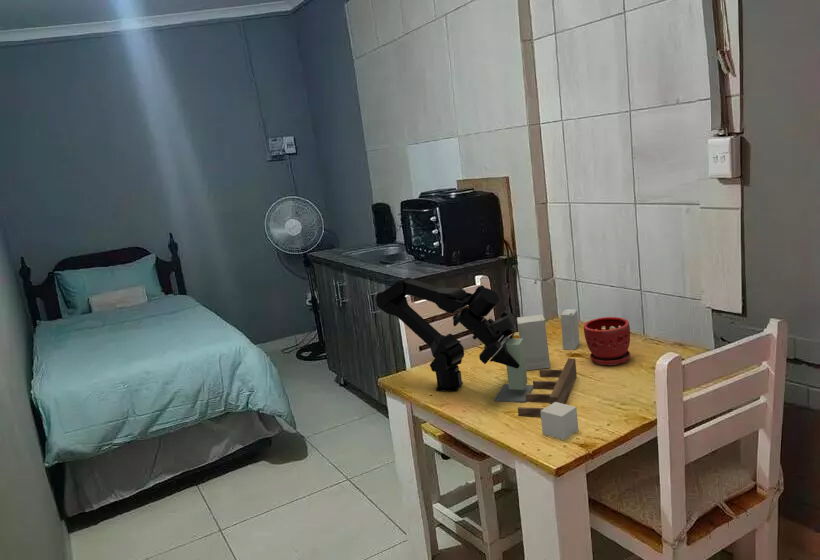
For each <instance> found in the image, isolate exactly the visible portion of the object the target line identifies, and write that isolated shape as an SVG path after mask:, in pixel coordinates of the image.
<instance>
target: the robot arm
mask: <svg viewBox="0 0 820 560" xmlns="http://www.w3.org/2000/svg"><path fill="white" fill-rule="evenodd" d="M407 295H409V296H412V297H414V298H415V297H416V298H418V299H421V300H425V301H427V302H430V303H434V304H435V305H436V306H437V308H439V309H440V310H443V311H444V312H445V313H448V314H454V313H455V314H454V315H453V316H452V319H453V320H452V322H453V323H452V324H453V327H456V326H457V325H458V324H461V326H463V327H464V328H465V329H466V330H467V331H469V332H470V333H471V334H472V335H473V336H472V339H473V340H479V341H480V342H481V343H482V344H483V345H484V346H483V350H482V351H481V352H480V354H479V357H478V358H479V360H480V361H481V362H482V363H483V365H486V364H487V363H488V362H491V363H492V362H493V363H497V364H502V365H505V366H506V365H507V366H510V367H514V368H519V366H520V365H519V364H518V363H517V361H516V360H515V359H514V358H513V357H512V356H511V355H510V354H509V353H508V351H507V348H506V342H507V340H508V339H515V337H514V336H515V333H514V331H515V329H516V327H515V325H517V320H515V314H513V313H512V312H509V311H508V310H504V311H502V312H501V313H500V317H499V318H498V319H496V320H494V319H493V318H488V319H487V318H486V317H487V316H488V315H489V314H490V312H491V311H492V310H493V309H494V308H495V307H496V306H497V304H498V303H499V302H500V296H499V295H498V294H497V292H496V291H494V290H492V289H491V288H488V287H485V286H484V285H479V286H477V287H476V289H475V290H474V292H473V293H472V292H471V293H470V292H467V291H466V290H465V289H464V288H460V287H440V286H436V285H433V284H430V283H426V282H423V281H419V280H416V279H413V278H411V277H407V276H406V277H403V278H400V279H399V280H397V281H396V282H395V283H394V284H392V285H391V286H390V287H388V288H386V289H384V290H382V291H380V292H378V293H377V294H376V297H375V302H376V303H375V304H376V306H377V307H378V309H379V310H381V311H382V312H384V313H385V314H387V315H390V316H394V317H396V318H398V319H399V320H400V321H401V322H402V323H404V325H406V327H408V328H409V329H410V330H411V331H412V332H413V333H414V334H415V335H416V336H418V337H419V338H420V339H421V340H422V341H423V342H424V344H426V345H428V347H429V348H430V351H431V354H432V357H433V360H432V361H431V362H430V364H429V368H431V371H432V372H434V373H435V377H436V384H437V386H436V387H435V391H437V392H438V391H440V392H441V391H443V392H456V391H458V390H459V388H460V387H461V386H462V385H463V383H464V382H463V379H462V372H461V370H460V368H459V365H461V364H462V361H463V358H464V357H465V347H464V346H463V344H461V341H460V340H459V339H457V337H455V336H454V335H453V334H451V333H448V334H446V335H443V334H441V333H440V332H439V331H438V330H437V329H436V328H435V327H433V326H432V325H431V324H430V323H429V322H428V321H427V320H426V319H424V318H423V317H422V316H421V315H420V314H419V313H418V312H417V311H416V310H414V309H413V307H411V306H410V305H409V302H408V299H407V297H406V296H407ZM467 306H468V307H467ZM458 311H460V312H459V313H456V312H458ZM507 366H506V367H507Z"/></svg>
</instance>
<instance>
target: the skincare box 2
mask: <svg viewBox="0 0 820 560" xmlns="http://www.w3.org/2000/svg"><path fill="white" fill-rule="evenodd" d="M560 322H561V323H560V325H561V326H560V327H561V338H562V339H561V341H562V349H563V350H568V351H569V350H570V351H571V350H573V351H574V350H577V348H578V347H579V345H580V343H581V341H580V329H579V327H580V326H579V313H578V309H577V308H574V309H568V308H567V309H564V310H563V312H562V313H561V314H560Z"/></svg>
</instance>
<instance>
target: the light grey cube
mask: <svg viewBox="0 0 820 560" xmlns="http://www.w3.org/2000/svg"><path fill="white" fill-rule="evenodd" d="M543 408H544V407H543ZM540 412H541V417H540V418H541V419H540V421H541V427H542V429H541V430H542V435H546V436H548V435H549V436H548V437H552V436H553V438H556V439H558V438H559V439H558V440H562V439H563V440H562V441H565V440H566V439H568V438H570V437H571V436H572V435H574V434H575V433H577V432H578V431H579V421H578V420H579V419H578V411H577V406H574V405H570V404H567V403H566V404H562V403H558V402H554V403H552V404H551V405H550V404H549V405H548V406H546V407H545V408H544V409H543V410H541V411H540ZM577 430H578V431H577ZM576 431H577V432H576ZM574 432H575V433H574ZM573 433H574V434H573ZM571 434H572V435H571ZM570 435H571V436H570ZM567 437H568V438H567Z"/></svg>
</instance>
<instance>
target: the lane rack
mask: <svg viewBox="0 0 820 560" xmlns="http://www.w3.org/2000/svg"><path fill="white" fill-rule="evenodd" d="M538 370H539V376H540V377H541V378H558V379H557V381H553V380H552V381H550V380H533V381H532V385H533V389H537V390H538V389H541V390H552V391H551V393H532V392H531V393H526V402H533V403H534V402H535V403H549V405H551V404H552V403H554V402H558V403H562V404H566V405H567V401H568V399H569V397H570V394H571V391H572V389H573V387H574V385H573V384H575V381H576V380H577V377H578V375H577V374H578V373H577V362H576V358H571V357H570V358H567V359H566V362H565V364H564V366H563V369H551V368H544V369H538ZM543 409H544V407H525V406H524V407H523V406H522V407H521V406H520V407H519V406H518V408H517V414H518V416H521V417H536V418H537V417H540V418H541V412H540V411H541V410H543Z"/></svg>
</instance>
